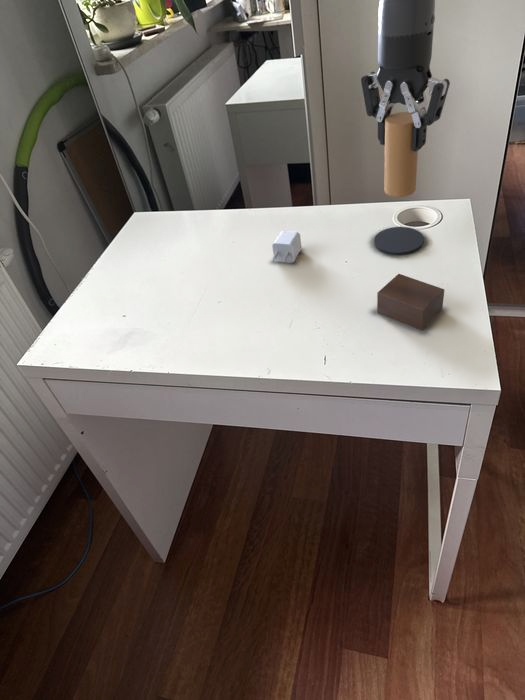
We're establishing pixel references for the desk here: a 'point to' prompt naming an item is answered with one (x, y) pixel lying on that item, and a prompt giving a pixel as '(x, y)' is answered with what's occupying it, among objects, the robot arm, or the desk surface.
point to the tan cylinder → (399, 155)
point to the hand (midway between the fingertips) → (401, 145)
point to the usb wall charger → (286, 246)
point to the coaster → (398, 241)
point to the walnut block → (410, 301)
